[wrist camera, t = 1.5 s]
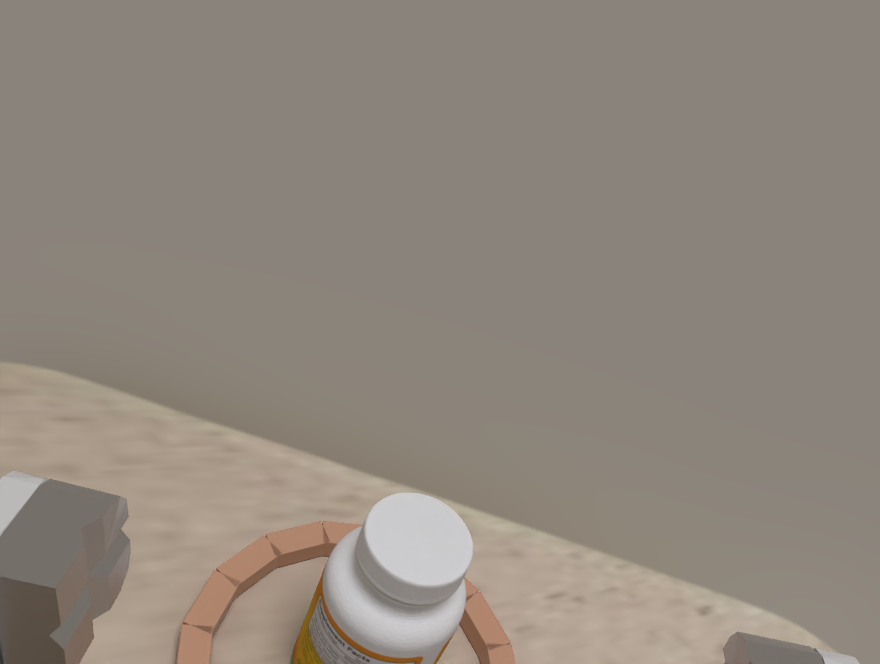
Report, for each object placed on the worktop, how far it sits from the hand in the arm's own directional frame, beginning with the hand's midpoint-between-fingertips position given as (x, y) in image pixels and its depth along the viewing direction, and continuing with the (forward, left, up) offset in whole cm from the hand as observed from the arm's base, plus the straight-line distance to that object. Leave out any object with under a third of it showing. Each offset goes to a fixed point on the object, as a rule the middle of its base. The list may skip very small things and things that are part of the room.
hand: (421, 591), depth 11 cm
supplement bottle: (+1, +13, -23) cm, 26 cm away
